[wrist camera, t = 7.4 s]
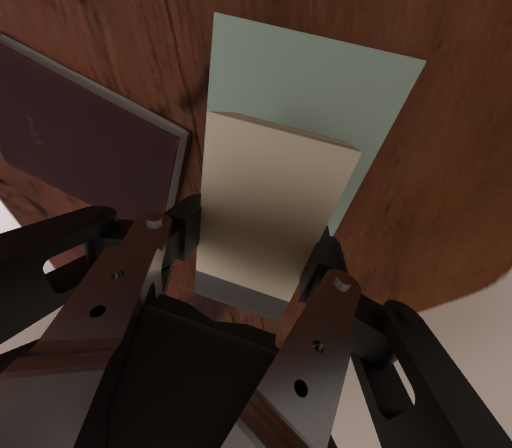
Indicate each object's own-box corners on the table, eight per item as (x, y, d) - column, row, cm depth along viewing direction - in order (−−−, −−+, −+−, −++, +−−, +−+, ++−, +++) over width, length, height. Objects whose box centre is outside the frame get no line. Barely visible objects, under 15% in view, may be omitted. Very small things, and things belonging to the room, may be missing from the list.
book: (173, 230, 25) (157, 244, 22) (33, 159, 24) (-2, 165, 21) (198, 132, 18) (178, 136, 16) (6, 32, 18) (-49, 16, 15)
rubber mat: (199, 239, 24) (197, 242, 24) (217, 15, 14) (214, 12, 13) (309, 276, 23) (309, 279, 22) (422, 62, 12) (426, 60, 12)
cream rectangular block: (234, 112, 9) (207, 111, 7) (346, 141, 9) (362, 152, 6) (214, 261, 15) (194, 292, 12) (284, 285, 14) (279, 322, 12)
